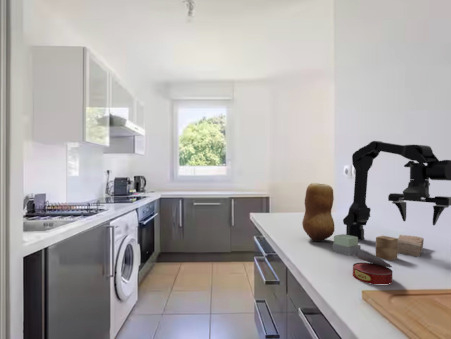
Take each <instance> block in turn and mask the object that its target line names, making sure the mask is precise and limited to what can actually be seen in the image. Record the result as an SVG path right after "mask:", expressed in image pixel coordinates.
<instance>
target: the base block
mask: <svg viewBox="0 0 451 339" xmlns="http://www.w3.org/2000/svg"><path fill="white" fill-rule="evenodd" d="M355 249H361V244H358V245H356V246H352V247H346V246H341V245H337V244H334V243H332V252H336V253H340V254H345V255H348V256H352V255H353V251H354V250H355ZM353 256H354V255H353Z"/></svg>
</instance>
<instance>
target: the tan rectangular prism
mask: <svg viewBox="0 0 451 339" xmlns="http://www.w3.org/2000/svg"><path fill="white" fill-rule="evenodd" d="M397 239H398V238H397V237H391V236H387V235H380V236H376V237H375V256H377V257H378V258H380V259H382V260H385V261H394V260H397V259H398V253H397Z"/></svg>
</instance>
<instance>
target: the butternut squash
mask: <svg viewBox="0 0 451 339" xmlns="http://www.w3.org/2000/svg"><path fill="white" fill-rule="evenodd" d="M334 199H335V198H334V189H333V187H332V186H331V185H329V184H327V183H318V182H312V183H310V184H309V185H307V188H306V190H305V197H304V208H305V209H304V210H305V212H304V213H303V218H302V222H301V225H302V229H303V230H304V232H305V233H306V235H307V236H308V237H309V238H310V240H312V242H319V241H320V242H321V241H325V240H326V239H328V238H330V237H332V235H333V234H335V221H334V218H333V215H332V208H333V204H334Z"/></svg>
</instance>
